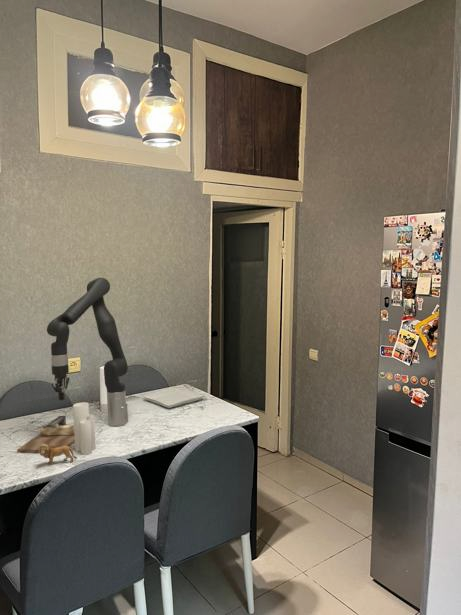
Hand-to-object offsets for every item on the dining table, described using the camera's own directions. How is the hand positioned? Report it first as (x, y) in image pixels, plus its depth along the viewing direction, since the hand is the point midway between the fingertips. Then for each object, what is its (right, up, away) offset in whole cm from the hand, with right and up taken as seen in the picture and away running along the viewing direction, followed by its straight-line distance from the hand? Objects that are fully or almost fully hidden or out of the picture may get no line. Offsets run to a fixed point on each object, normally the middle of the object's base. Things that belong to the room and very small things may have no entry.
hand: (61, 399), depth 218 cm
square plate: (+46, -13, +57) cm, 74 cm away
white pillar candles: (+16, -19, -15) cm, 29 cm away
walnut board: (-2, -18, -4) cm, 19 cm away
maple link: (-1, -16, -1) cm, 16 cm away
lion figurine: (+9, -21, -29) cm, 36 cm away
